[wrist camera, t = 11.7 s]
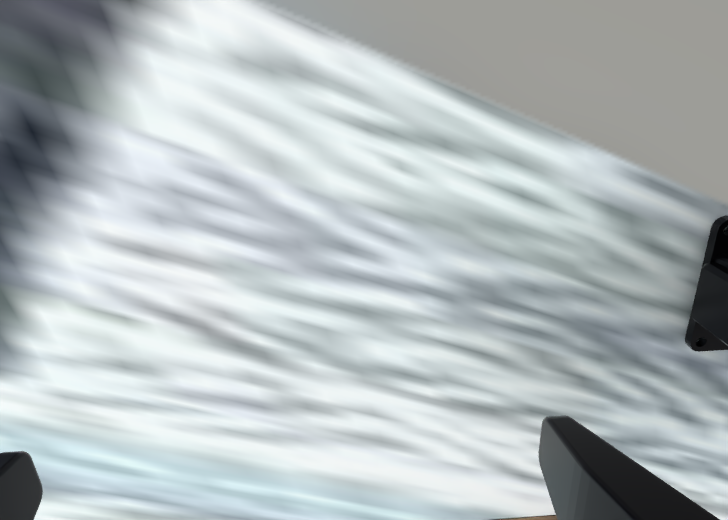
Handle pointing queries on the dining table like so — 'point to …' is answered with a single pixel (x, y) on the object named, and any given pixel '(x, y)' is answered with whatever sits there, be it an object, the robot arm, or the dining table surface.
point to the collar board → (535, 518)
